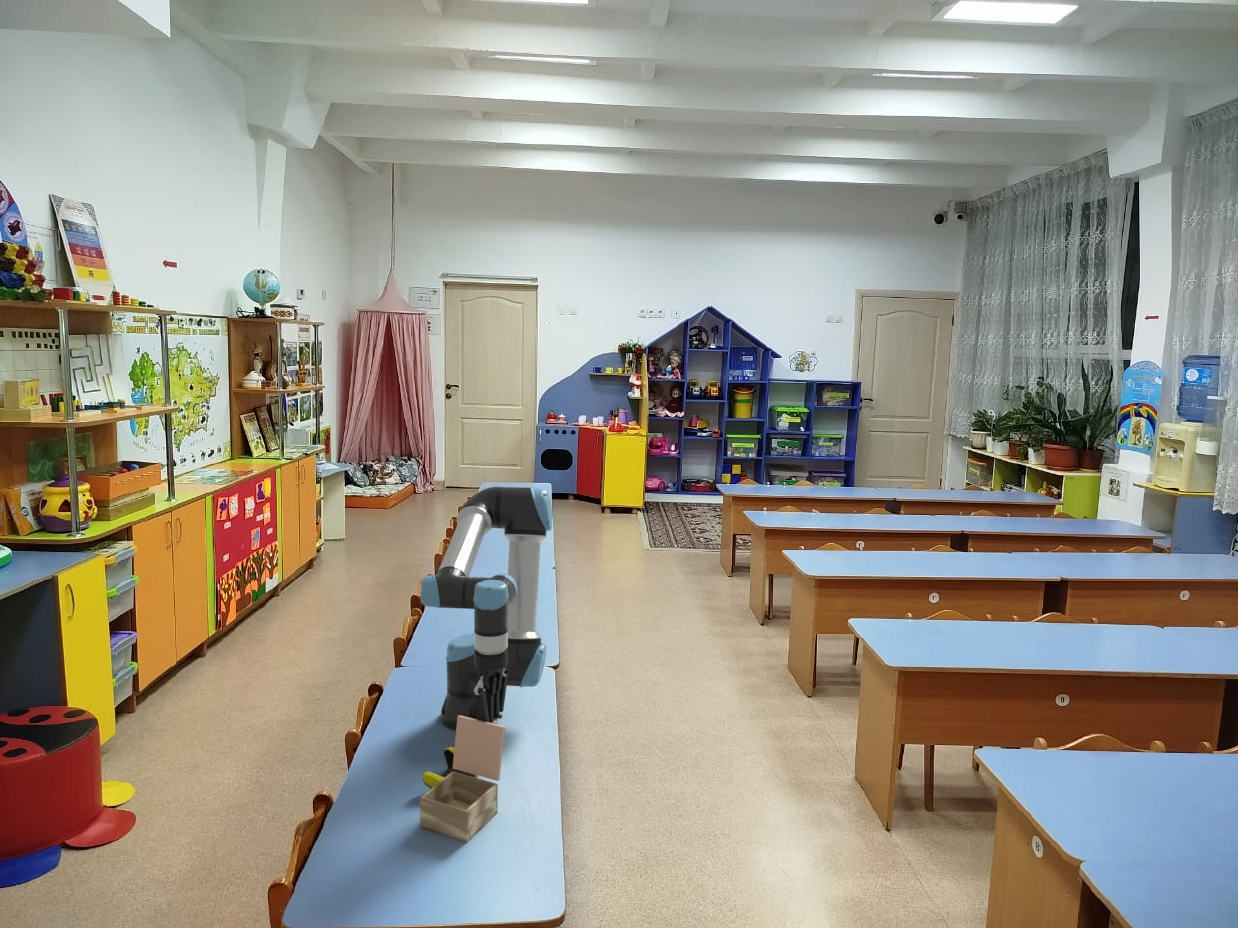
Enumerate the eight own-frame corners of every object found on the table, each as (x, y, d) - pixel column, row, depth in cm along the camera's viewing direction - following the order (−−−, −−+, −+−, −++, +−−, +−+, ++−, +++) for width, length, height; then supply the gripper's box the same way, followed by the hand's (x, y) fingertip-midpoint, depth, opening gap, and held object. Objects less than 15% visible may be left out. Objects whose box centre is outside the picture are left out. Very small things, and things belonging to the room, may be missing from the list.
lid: (452, 768, 189) (455, 766, 190) (497, 780, 185) (500, 779, 186) (457, 715, 189) (460, 714, 190) (502, 727, 185) (505, 726, 186)
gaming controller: (419, 796, 192) (459, 803, 189) (419, 774, 191) (459, 781, 188) (447, 764, 206) (485, 769, 204) (447, 743, 205) (484, 749, 203)
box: (452, 799, 191) (452, 771, 189) (497, 812, 186) (497, 783, 185) (420, 827, 180) (419, 797, 179) (467, 842, 175) (467, 811, 174)
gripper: (492, 636, 196) (491, 730, 200) (460, 655, 184) (461, 754, 188) (519, 642, 193) (519, 736, 197) (489, 661, 181) (489, 762, 185)
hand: (490, 745), depth 192 cm, fingers closed
